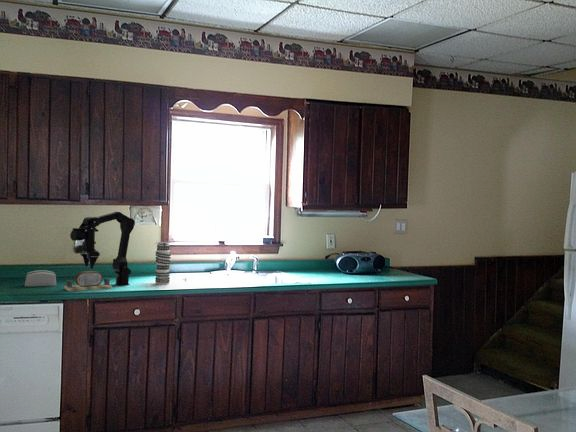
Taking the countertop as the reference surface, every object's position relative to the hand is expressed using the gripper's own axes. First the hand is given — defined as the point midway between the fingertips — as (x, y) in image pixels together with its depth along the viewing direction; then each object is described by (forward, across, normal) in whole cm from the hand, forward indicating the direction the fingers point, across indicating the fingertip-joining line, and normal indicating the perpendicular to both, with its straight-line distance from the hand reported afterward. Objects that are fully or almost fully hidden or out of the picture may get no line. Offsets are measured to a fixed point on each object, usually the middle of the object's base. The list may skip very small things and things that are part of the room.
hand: (88, 267), depth 351 cm
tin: (+11, +1, 0) cm, 11 cm away
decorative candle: (+12, -1, +45) cm, 47 cm away
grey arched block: (+12, -20, -21) cm, 31 cm away
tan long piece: (+12, 0, 0) cm, 12 cm away
